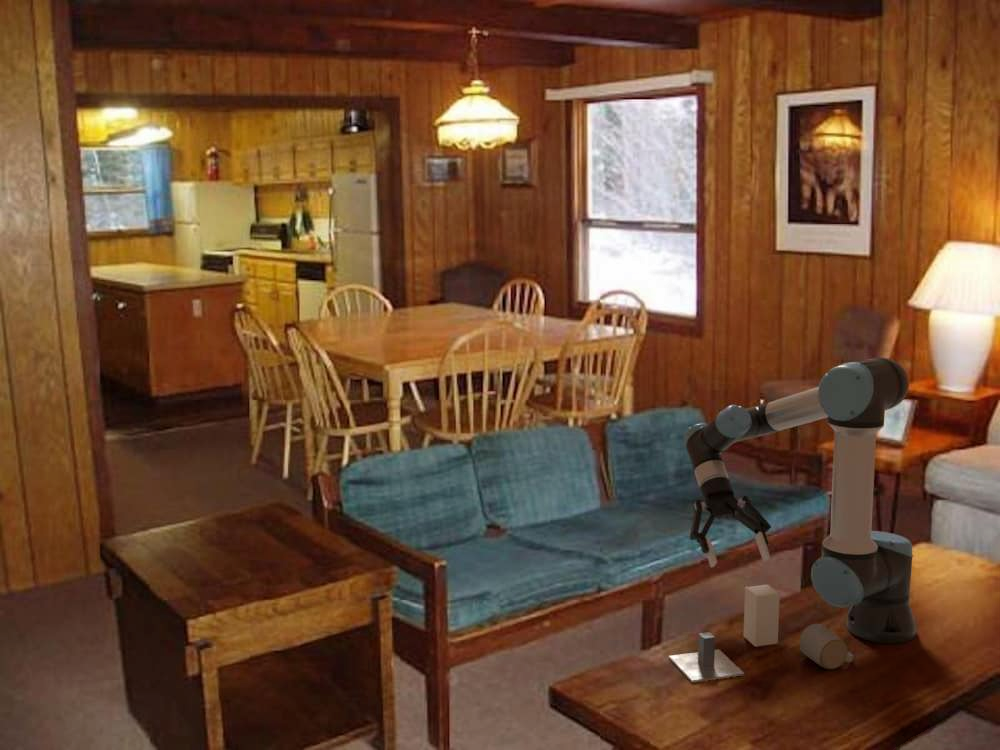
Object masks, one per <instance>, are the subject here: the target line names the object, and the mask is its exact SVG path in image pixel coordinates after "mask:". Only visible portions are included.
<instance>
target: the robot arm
mask: <svg viewBox="0 0 1000 750" xmlns="http://www.w3.org/2000/svg"><path fill="white" fill-rule="evenodd" d="M909 381H910V380H909V376H908V374H907V371H906V370H905V368H904V367H903V366H902V365H901V364H900V363H899V362H897V361H895V360H893V359H891V358H886V357H875V358H869V359H864V360H859V361H851V362H850V361H848V362H844V363H842V364H840V365H837V366H834V367H832V368H831V369H830V370H828V371H827V372H826V373H825V374H824V375H823V377H822V379H821V380H820V382H819V385H818V386H817V387H814V388H811V389H810V388H809V389H807V390H804V391H801V392H797V393H794V394H791V395H789V396H785V397H781V398H779V399H775V400H772V401H770V402H769V401H768V402H765V403H763V404H760V405H756V406H755V405H754V406H751V407H748V408H745V407H742V406H741V405H739V406H738V405H737V404H731V405H728V406H727V407H725V408H724V409H722V410H721V411H720V412H719V413H718V414H717V415H716V416H715V417H714V418H713V419H711V421H710V422H709V423H708V424H707V423H705V422H704V423H703V422H702V423H696V424H693V425H692V426H689V427H688V428H687V429H686V430H685V431H684V433H683V440H684V444H685V450H686V451H687V453H688V457H689V460H690V462H691V465H692V469H693V472H694V475H695V478H696V481H697V483H698V486H699V489H700V490H699V491H700V493H701V496H702V499H703V501H701V500H700V499H697V500H696V501H695V502H694V504H693V505H692V507H693V512H694V513H693V517H692V524H691V530H690V533H689V539H690V540H691V541H694V540H696V542H697V543H698V544H699V545H700V549H701V552H702V553H703V554H705V555H706V557H707V560H708V563H709V566H710V568H714V567H715V566H716V565H717V563H718V560H717V557H716V554H715V550H714V547H713V544H712V541H711V537H710V536H707V534H708V532H709V530H710V528H711V526H712V524H713V522H714V520H715V518H716V519H718V520H722V519H731V518H732V519H734V520H737V521H738V522H739V523H741V524H742V525H743V526H745V527H746V528H748V530H750V531H752V532H753V533H754V534H755V536H754V539H755V542H756V546H757V547H758V550H759V553H760V556H761V559H762V561H763V562H767V561H768V560H769V559H770V558H771V554H770V551H769V549H768V546H769V540H768V537H767V534H766V533H768V532H769V530H770V529H771V528H772V526H771V524H770V523H769V522H768V520H766V518H765V517H764V516H763V515H762V514H761V513H760V512H759V511H758V510H757V508H755V506H754V505H752V503H751V502H750V500H749V497H748V496H747V495H743V497H741V498H738V499H737V498H736V496H735V493H734V489H733V486H732V483H731V481H730V479H729V474H728V472H727V468H726V466H725V462H724V460H723V458H722V453H723V452H725V451H726V450H727V449H728V448H730V446H732V445H734V444H735V443H737V442H741V441H745V440H750V439H752V438H758V437H762V436H768V435H773V434H775V433H777V432H781V431H783V430H787V429H790V428H794V427H798V426H801V425H805V424H808V423H809V424H810V423H812V422H816V421H819V420H822V419H826V418H827V424H828V426H830V427H831V428H832V429H833V431H834V433H833V436H834V437H833V459H832V480H831V482H832V485H831V504H830V505H831V508H830V529H829V530H830V533H829V535H828V536H827V537H826V538H824V539H823V540H822V547H821V549H822V552H821V557H819V558H818V559H817V560H815V562H814V563H813V565H812V566H811V571H810V575H811V576H810V577H811V579H810V580H811V582H812V585H813V588H814V589H815V591H816V592H817V593H818V594H819V596H820V598H821V599H823V600H824V601H825V602H826V603H828V604H829V605H831V606H834V607H838V608H847V607H850V608H849V611H848V613H847V614H846V629H847V630H848V632H849V633H850V634H852V635H854V636H856V637H858V638H859V639H860V638H861V639H862V640H866V641H870V642H874V643H881V644H901V643H906V642H907V643H908V642H910V641H912V640H913V639H915V638H916V637H915V636H916V630H917V629H916V628H917V627H916V621H915V618H914V614H913V610H912V606H911V603H910V596H911V595H910V592H911V579H912V566H913V565H912V564H913V557H914V555H913V544H912V542H911V541H910V540H909V539H908V538H906V537H904V536H902V535H899V534H895V533H891V532H887V531H881V530H880V531H879V530H872V526H873V521H872V520H873V507H874V506H873V502H874V485H875V484H874V481H875V465H876V461H875V460H876V442H877V440H876V439H877V433H878V432H879V431H880V430H881V429H882V428H884V427H885V417H886V416H885V415H886V413H885V411H887V410H888V411H889V410H890V409H893V408H896V407H897V406H898V405H900V404H901V402H903V401H904V400H905V398H906V396H907V394H908V392H909V388H910V382H909ZM704 509H705V510H706V511H707V512H709V515H708V516H707V519H706V521H705V523H704V525H703V528H701V531H700V532H699V529H700V524H701V518H702V513H703V511H704ZM706 536H707V537H706Z"/></svg>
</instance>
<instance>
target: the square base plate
mask: <svg viewBox="0 0 1000 750" xmlns="http://www.w3.org/2000/svg"><path fill="white" fill-rule="evenodd" d="M697 641H698V644H697V646H698V649H697V651H696V652H695V651H694V652H689V653H688V652H687V653H681V654H674V655H668V659H669V660H670V662H672V664H673V665H675V666H676V667H677V669H678V670H679V671H680V672H681V673H682V674H683V675H684V676H685V677H686V678H687V680H688V681H690V683H692V684H695V683H702V682H703V681H704V682H709V681H708V680H711V681H717V680H716V679H718V680H724V678H726V679H731V678H730V677H733V678H737V677H736V676H740V677H744V676H745V672H744V671H743V670H741V669H740V667H738V666H737V665H736V664H735V663H734V662H733V661H732V660H731V659H730V658H729V657H728V656H727V655H725V653H724V652H722V650H720V649H716V637H715V635H713V634H712V633H711V632H700V633H698V640H697Z"/></svg>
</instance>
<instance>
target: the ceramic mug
mask: <svg viewBox="0 0 1000 750" xmlns="http://www.w3.org/2000/svg"><path fill="white" fill-rule="evenodd" d="M798 644H799V649H800V651H801V652H802V654H803V655H804V656H806V657H807V658H809V659H810V660H812V661H813V662H814V663H816V664H817V665H819V666H820V667H821V668H823V669H826V670H835V669H837V668H839V667H841V666H843V664H844V663H845V662H846V663H852V661H853V659H854V655H853V654H852V653H851V652H850V651H848V648H847V644H846V643H845V642H844V641H843V639H841V638H840V637H839V636H838V635H836V633H833V632H832V630H830V629H829V627H826V626H825V625H823V624H822V623H812V624H810V625H808V626H807V627H806V628H805V629H804V630H803V631H802V632H801V634H800V637H799V642H798Z"/></svg>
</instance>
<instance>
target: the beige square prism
mask: <svg viewBox="0 0 1000 750" xmlns="http://www.w3.org/2000/svg"><path fill="white" fill-rule="evenodd" d="M780 595H781V593H779V592H778V591H777V590H776V589H774V588H773V587H771V586H770V585H769V584H761V585H760V584H759V585H751V586H745V587H744V607H743V608H744V610H743V613H744V614H743V638H745V639H746V640H747V641H748V642H749V643H750V644H752V646H754V647H761V646H770V645H777V644H778V643H779V620H780V619H779V618H780V616H779V615H780V598H781V597H780Z"/></svg>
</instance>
